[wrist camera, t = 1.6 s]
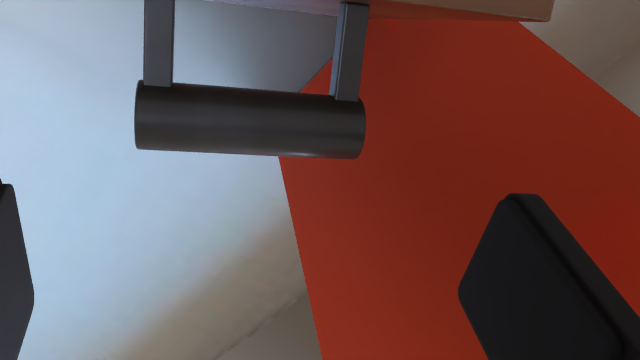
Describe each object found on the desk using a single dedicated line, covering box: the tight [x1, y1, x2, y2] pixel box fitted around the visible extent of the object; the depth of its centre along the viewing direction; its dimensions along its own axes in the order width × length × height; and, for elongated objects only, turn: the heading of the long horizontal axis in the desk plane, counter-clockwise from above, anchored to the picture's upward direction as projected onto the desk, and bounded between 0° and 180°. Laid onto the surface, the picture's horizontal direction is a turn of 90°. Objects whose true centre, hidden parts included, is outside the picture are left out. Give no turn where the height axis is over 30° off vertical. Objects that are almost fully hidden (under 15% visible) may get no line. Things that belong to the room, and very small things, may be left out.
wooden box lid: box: [134, 0, 554, 160], centre depth 20 cm, size 17×14×5 cm
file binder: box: [278, 18, 640, 360], centre depth 30 cm, size 8×17×32 cm, turn 136°
